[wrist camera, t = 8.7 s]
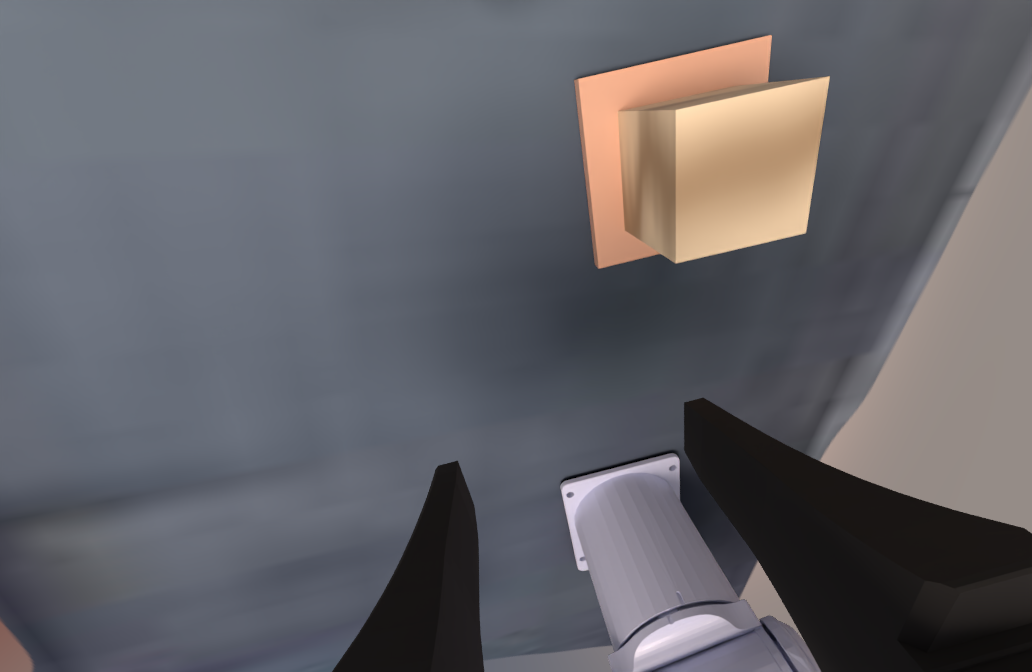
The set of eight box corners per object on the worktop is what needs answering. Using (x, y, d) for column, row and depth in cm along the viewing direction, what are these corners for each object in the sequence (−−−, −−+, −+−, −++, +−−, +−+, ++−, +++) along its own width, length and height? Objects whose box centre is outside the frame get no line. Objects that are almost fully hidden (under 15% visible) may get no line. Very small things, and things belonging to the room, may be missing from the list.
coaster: (748, 227, 21) (755, 230, 21) (594, 264, 21) (598, 268, 20) (762, 37, 17) (771, 34, 17) (573, 80, 17) (578, 78, 16)
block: (726, 207, 20) (805, 233, 15) (624, 230, 20) (675, 263, 15) (733, 86, 17) (829, 76, 13) (617, 111, 17) (675, 109, 13)
